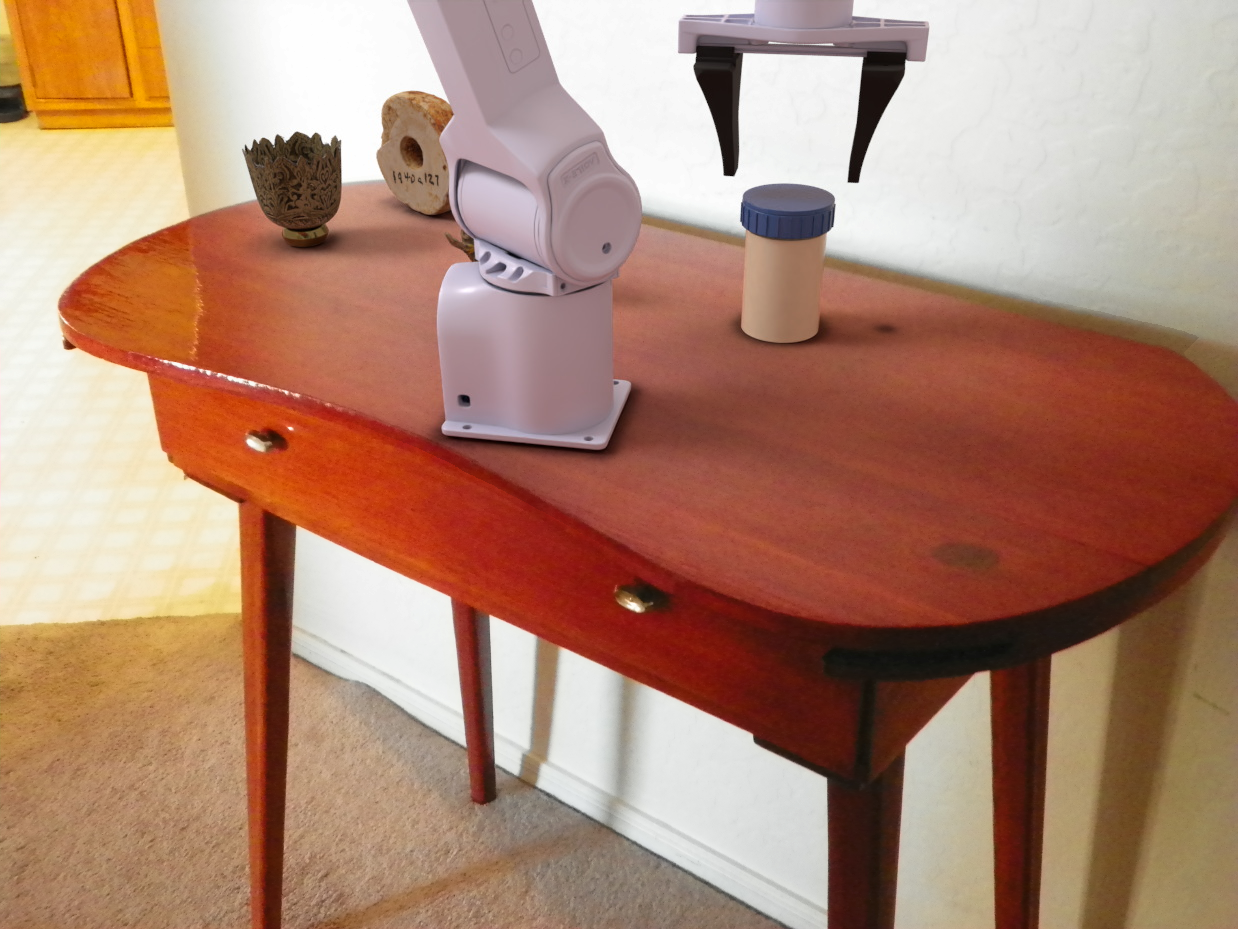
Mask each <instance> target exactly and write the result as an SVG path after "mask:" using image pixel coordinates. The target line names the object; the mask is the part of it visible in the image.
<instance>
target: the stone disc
mask: <svg viewBox="0 0 1238 929" xmlns="http://www.w3.org/2000/svg"><path fill="white" fill-rule="evenodd" d="M453 115H454V113H453V111H452V108H451V106H450V103H449V102H448V101H447V100H445V99H443V98H442V97H438V96H437V95H435V94H431V93H428V92H425V91H421V90H406V91H401V92H398V93H395V94H393V95H391V96H389V97H388V98H387V99H386V100H385V101H384V102H383V104H382V107H381V115H380V117H381V126H382V133H381V136H380V139H381V143H380V144H381V145H380V147H379V148H378V149H377V151H376V153H375V154H376V156H375V157H376V161H377V165H378V167H379V170H380V173H381V175H382V177H383V179H384V181H385V183H386V184H387V187H388V188H389V190H390V191H391V193H392V194H393V195H394V197H395V198H396V199H397V200H398V201H399V202H401V203H403V204H404V205H406V206H408V207H410V209H412V210H414V211H416V212H417V213H421V214H423V215H426V216H427V215H428V216H434V215H442V214H444V213H446V212H449V211H452V210H451V206H450V201H449V168H448V163H447V160H446V157H445V154H444V151H443V149H442V147H441V144H440V142H439V138H440V136H441V133H442V132H443V130H444V129H445V127H446V126H447V124H448V123H449V121H450V120H451V118H452V117H453Z"/></svg>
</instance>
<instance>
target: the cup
mask: <svg viewBox="0 0 1238 929" xmlns="http://www.w3.org/2000/svg"><path fill="white" fill-rule="evenodd" d="M241 151H242V154H243V157H244V160H245V164H246V167H247V171H248V175H249V178H250V181H251V185H252V188H253V190H254V194H255V198H256V199H257V202H258V206H259V207H260V209H261V211H262V213H263V214H264V216H265V217H266V218H267V219H268V220H269V221H270V222H271V223H273V224H274V225H277V226H278V227H281V228H282V230H281V237H282V239H283V240H284V242H285V243H286V244H287V245H289V246H292V247H295V248H309V247H310V248H311V247H314V246H318V245H321V244H323V243H324V242H326V240H327V239H328V236H329V233H330V229H329V227H328V225H327V223H328V222H330V221H331V220H332V219H333V218H334V217H335V216H336V215H337V213H338V211H339V208H340V205H341V200H342V190H343V189H342V188H343V187H342V185H343V184H342V182H343V179H342V178H343V177H342V174H343V173H342V171H343V170H342V169H343V168H342V139H339V138H338V136H337V135H334V136H332V137H331V140H330V142H325V143H324V142H323V139H322V135H321V134H320V133H318V132H314V133H313V134H312V135H311V137H310V136H309V135H308V134H306V133H303V132H300V131H294V133H293V134H291V136H289V138H288V139H287V140H286V139H285V136H282V135H280V134H279V133H277V134H275V137H274V142H273V143H272V141H270V139H268V138H266V137H262V138H260V140H259V141H257V140H256V139H255V138H254V139H253V141H252V145H251V147H250V148H248V146H247V144H246V143H245V144H244V148H241Z"/></svg>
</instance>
